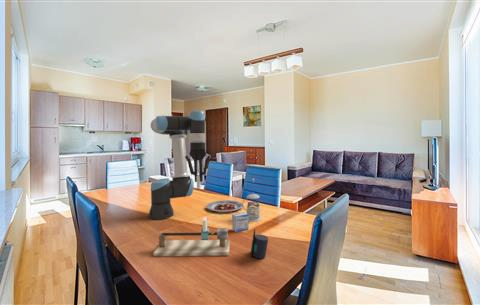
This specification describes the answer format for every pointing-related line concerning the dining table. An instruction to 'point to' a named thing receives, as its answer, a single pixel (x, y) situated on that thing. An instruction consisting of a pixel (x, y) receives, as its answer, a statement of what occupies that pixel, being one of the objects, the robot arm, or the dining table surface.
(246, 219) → the medicine box
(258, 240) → the speaker
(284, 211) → the dining table surface
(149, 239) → the dining table surface
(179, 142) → the robot arm
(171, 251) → the cord rig
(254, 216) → the french press
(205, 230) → the white slab teal box
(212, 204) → the ceramic plate
